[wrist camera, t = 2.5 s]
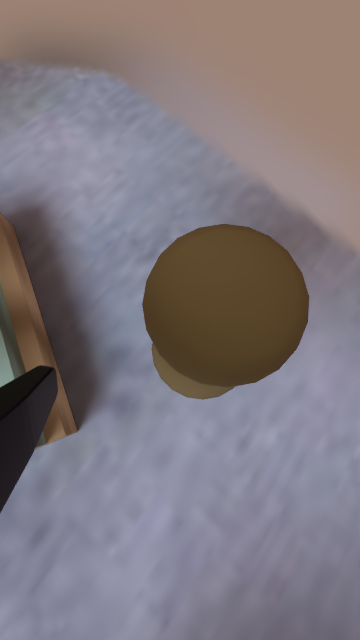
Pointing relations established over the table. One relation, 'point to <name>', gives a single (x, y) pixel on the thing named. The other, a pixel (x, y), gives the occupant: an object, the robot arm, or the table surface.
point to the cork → (223, 309)
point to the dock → (26, 333)
